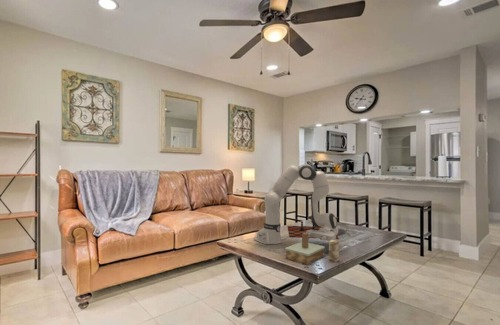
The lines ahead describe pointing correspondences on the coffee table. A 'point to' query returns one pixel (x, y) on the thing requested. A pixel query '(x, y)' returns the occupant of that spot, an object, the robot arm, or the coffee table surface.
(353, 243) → the coffee table surface
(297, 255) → the open wooden box
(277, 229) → the robot arm
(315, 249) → the lid
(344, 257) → the coffee table surface
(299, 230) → the chessboard
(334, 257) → the tan wooden block
